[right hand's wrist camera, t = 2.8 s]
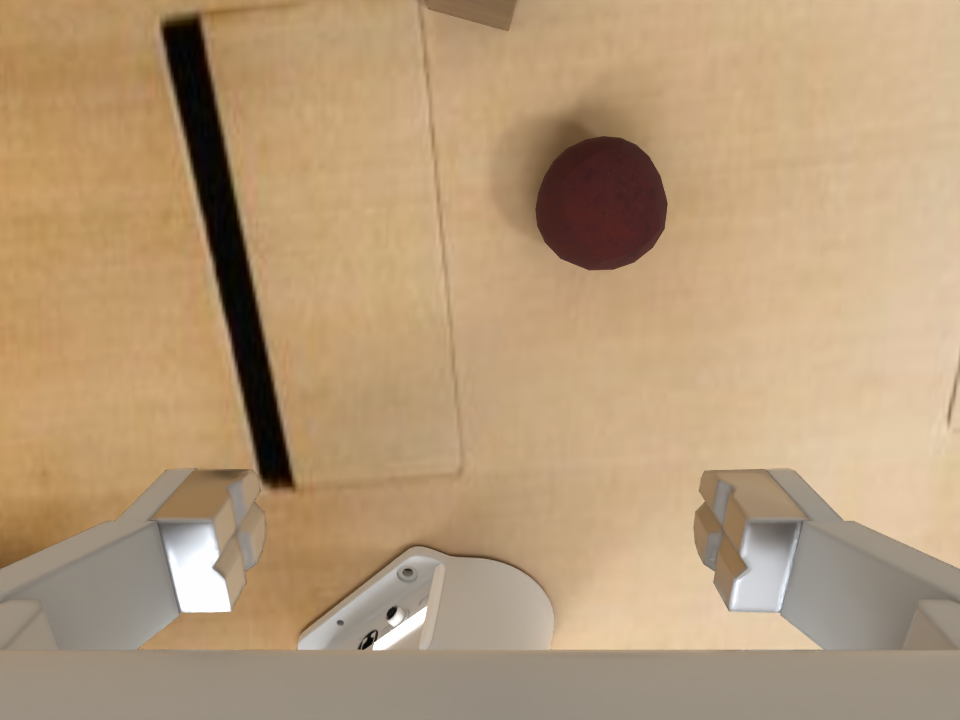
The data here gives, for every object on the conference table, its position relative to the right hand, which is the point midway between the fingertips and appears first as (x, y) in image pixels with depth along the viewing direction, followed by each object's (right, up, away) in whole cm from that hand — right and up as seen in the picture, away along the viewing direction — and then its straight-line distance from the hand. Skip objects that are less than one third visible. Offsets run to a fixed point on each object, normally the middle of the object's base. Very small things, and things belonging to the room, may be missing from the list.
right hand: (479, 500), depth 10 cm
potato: (+7, +13, +26) cm, 30 cm away
